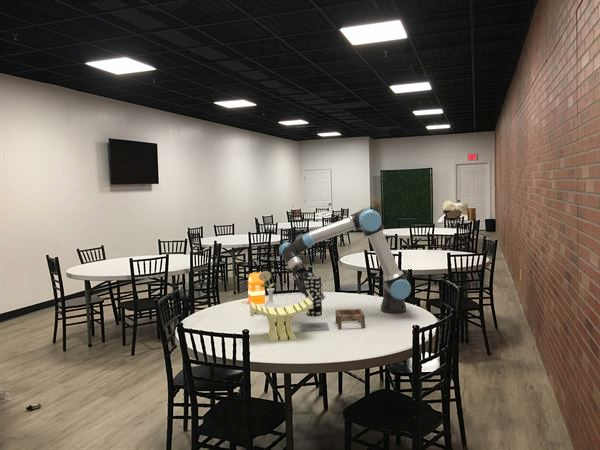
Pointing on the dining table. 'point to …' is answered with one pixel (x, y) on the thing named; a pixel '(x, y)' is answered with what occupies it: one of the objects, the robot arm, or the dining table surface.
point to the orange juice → (256, 289)
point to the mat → (315, 326)
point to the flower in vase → (265, 277)
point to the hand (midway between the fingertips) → (318, 299)
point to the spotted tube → (314, 295)
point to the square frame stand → (349, 316)
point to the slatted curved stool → (281, 318)
